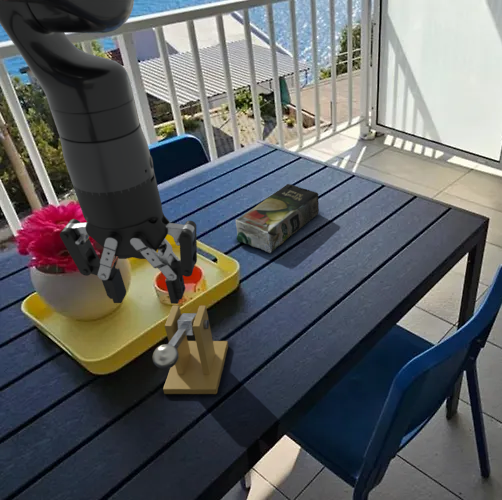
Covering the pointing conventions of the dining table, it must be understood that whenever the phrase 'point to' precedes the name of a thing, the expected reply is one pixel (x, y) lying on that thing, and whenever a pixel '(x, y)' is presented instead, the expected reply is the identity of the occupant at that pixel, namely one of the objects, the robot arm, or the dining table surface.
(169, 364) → the tap lever
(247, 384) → the dining table surface
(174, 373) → the bracket
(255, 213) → the juice carton
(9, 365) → the dining table surface
